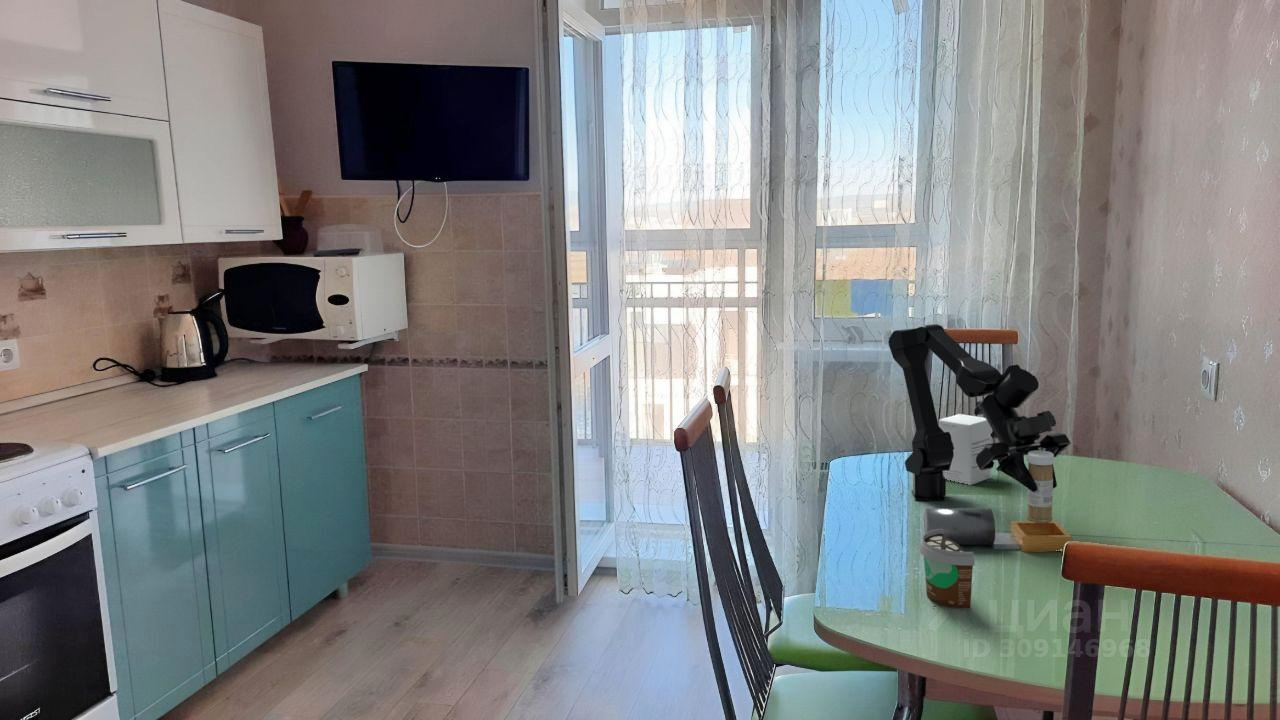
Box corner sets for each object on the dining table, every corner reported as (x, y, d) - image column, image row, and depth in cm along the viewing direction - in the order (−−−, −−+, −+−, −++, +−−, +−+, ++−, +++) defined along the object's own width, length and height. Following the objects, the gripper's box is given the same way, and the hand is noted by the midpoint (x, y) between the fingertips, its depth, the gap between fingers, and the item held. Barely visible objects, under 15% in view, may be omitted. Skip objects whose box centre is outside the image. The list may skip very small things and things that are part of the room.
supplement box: (937, 478, 213) (937, 419, 211) (958, 471, 219) (958, 413, 216) (970, 486, 206) (970, 424, 204) (991, 478, 211) (992, 418, 209)
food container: (907, 585, 152) (907, 530, 150) (941, 582, 152) (941, 527, 151) (937, 615, 140) (937, 556, 138) (974, 612, 140) (974, 553, 139)
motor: (930, 551, 167) (930, 516, 166) (923, 535, 175) (923, 502, 174) (1070, 552, 163) (1071, 516, 162) (1056, 536, 171) (1057, 501, 170)
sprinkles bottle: (1044, 515, 170) (1045, 448, 168) (1057, 523, 165) (1058, 454, 163) (1021, 517, 169) (1022, 450, 167) (1034, 525, 165) (1035, 456, 163)
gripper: (986, 403, 164) (1029, 474, 156) (1064, 392, 170) (1109, 460, 162) (958, 435, 173) (997, 504, 164) (1033, 424, 179) (1074, 490, 170)
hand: (1045, 489), depth 165 cm, fingers closed on sprinkles bottle, 4 cm apart
